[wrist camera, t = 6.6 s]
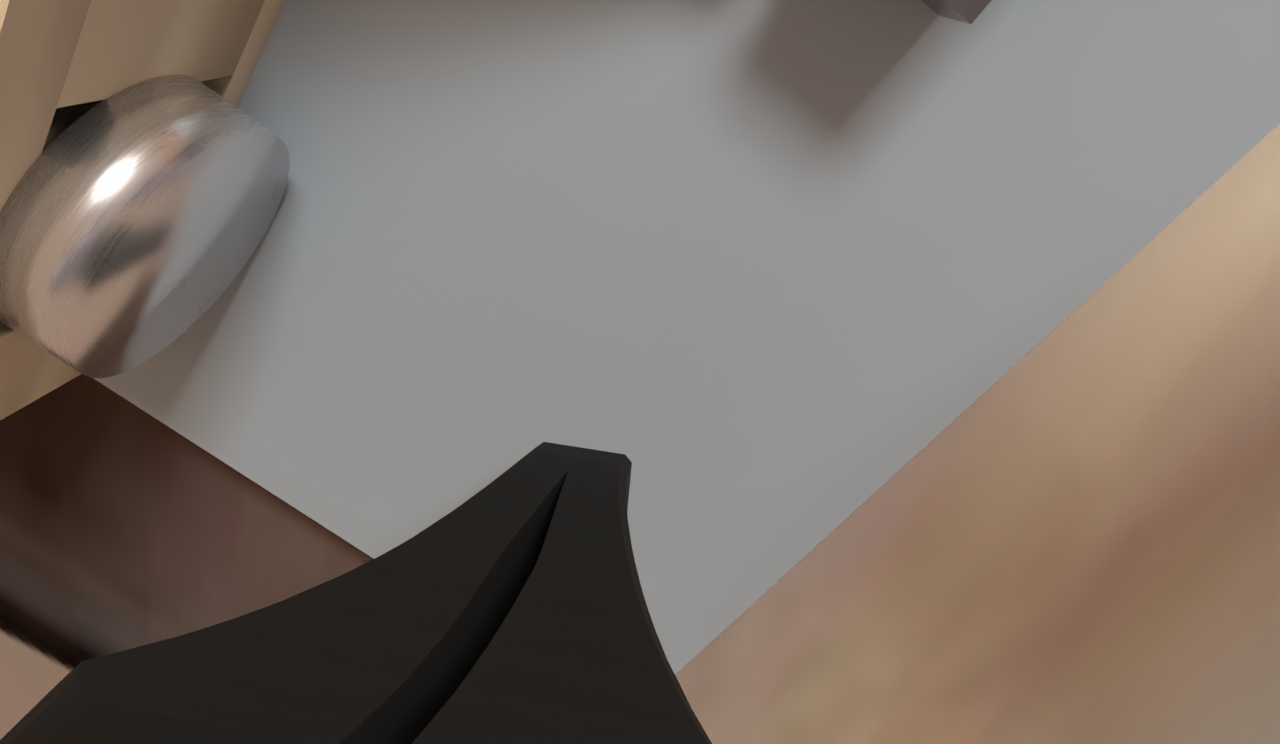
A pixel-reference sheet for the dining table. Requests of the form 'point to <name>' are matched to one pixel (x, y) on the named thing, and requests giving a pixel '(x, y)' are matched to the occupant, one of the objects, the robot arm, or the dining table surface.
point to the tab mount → (958, 8)
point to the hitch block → (103, 97)
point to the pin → (135, 221)
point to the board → (685, 249)
